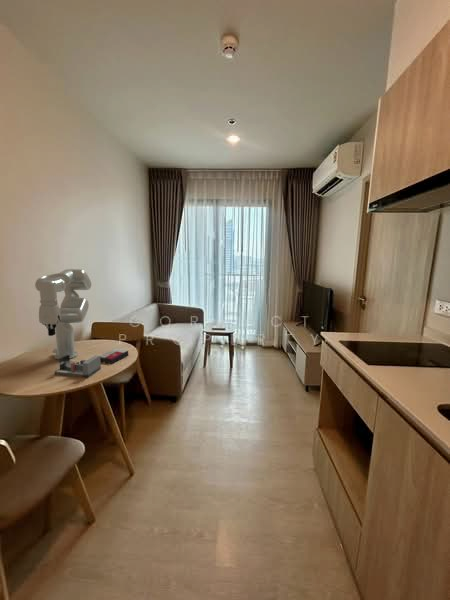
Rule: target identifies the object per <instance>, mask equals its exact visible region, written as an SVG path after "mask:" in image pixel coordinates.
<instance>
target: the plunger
mask: <svg viewBox="0 0 450 600" xmlns="http://www.w3.org/2000/svg"><path fill="white" fill-rule="evenodd" d="M71 363H75V364H80V361H72V360H71V359H70V356H69V355H66V356H63V357H61V358H59V360H58V366H59V369H64V368H65V367H71Z"/></svg>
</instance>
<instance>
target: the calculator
mask: <svg viewBox="0 0 450 600" xmlns="http://www.w3.org/2000/svg"><path fill="white" fill-rule="evenodd" d="M99 356H100V362H101V363H104V362H105V363H106V364H111V365H113V364H115V363H117V362H119V361H121V360H122V359H124V357H125V358H127V357H129V350H126V349H120V348H113V349H111V350H109V351H107V352H104V353H102V354H101V355H99ZM126 356H127V357H126ZM105 363H104V364H105Z"/></svg>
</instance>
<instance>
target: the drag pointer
mask: <svg viewBox="0 0 450 600" xmlns="http://www.w3.org/2000/svg"><path fill="white" fill-rule="evenodd" d="M71 372H75V363H71Z"/></svg>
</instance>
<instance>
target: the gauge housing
mask: <svg viewBox="0 0 450 600" xmlns="http://www.w3.org/2000/svg"><path fill="white" fill-rule="evenodd" d="M101 363H102V362H100V355H93V356H92V357H90V358H88V359H87V360H86V359H85V360H84V359H82V360H79V364H75V372H71V367H65V368H64V369H60V368H59V369H57V370H55V371H54V375H59V376H70V377H71V376H72V377H79V378H90V377H92V376H94V374H96V373H98V372H99V371H100V370H102V369H101V368H102V366H101V365H102V364H101Z"/></svg>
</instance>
